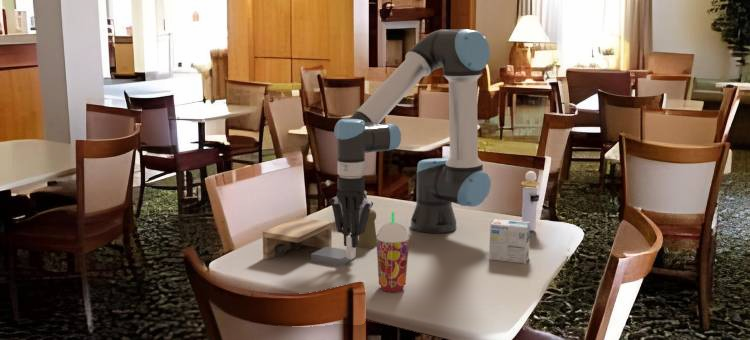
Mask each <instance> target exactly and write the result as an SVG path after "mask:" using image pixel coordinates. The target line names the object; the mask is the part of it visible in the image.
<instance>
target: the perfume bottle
mask: <svg viewBox="0 0 750 340" xmlns="http://www.w3.org/2000/svg"><path fill="white" fill-rule="evenodd" d="M524 175H525V180H523V181H521V185H522V186H524V187H523V189H522V204H521V205H522V206H521V208H522V209H521V210H522V211H521V221H523V222H530V232H531V231H535V230H536V226H537V224H536V223H537V204H538V202H539V201H540V194H538V188H536V187H539V186H540V185H541V183H540V182H539V181H536V180H537V173H536V172H535V171H534V170H533V171H532V170H529V171H527V172H526V173H525V174H524Z"/></svg>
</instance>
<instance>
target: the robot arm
mask: <svg viewBox="0 0 750 340" xmlns="http://www.w3.org/2000/svg"><path fill="white" fill-rule="evenodd" d="M404 57H405V58H404V61H403V62H402V63H401V64H400V65H399V66H398V67H397V68H395V70H394V71H393V72H392V73H391V74H390V75H389V77H387V78H386V79H385V81H383V83H382V84H381V85H380V86H379V87H378V88H377V89H376V90H375V91H374V92H373V93H372V94H371V96H369V97H368V99H366V100H365V102H363V104H361V106H359V108H358V109H357V110H356V111H355V112H354V113H353V114H352V115H351V116H350V117H345V118H341V119H339V120H338V121H337V122H336V124H335V126H334V130H333V131H334V132H333V133H334V136H335V138H336V139H337V140H336V146H337V152H336V153H337V175H338V176H337V181H336V184H337V187H336V188H337V192H336V196H334V197H331V198H329V201H328V202H329V204H330V205H331V208H332V211H333V216H334V221H335V225H336V230H337V232H338V233H340V234H342V235H343V246H344V247H345V250H346V259H353V258H354V257H356V249H357V248H358V247H359V246H358V239H359V235H361V234H363V233H364V232H365V228H366V224H367V220H368V216H369V211H370V209H371V210H372V207H373V206H374V202H373V201H369V200H368V198H367V199H366V196H365V194H364V191H365V176H364V175H365V172H366V171H365V170H366V169H365V168H366V167H365V166H366V163H365V160H366V158H365V157H366V154H368V153H375V152H385V151H386V152H388V151H392V150H395V149H397V148H398V147H400V144H401V141H402V133H401V130H400V128H399V127H398V126H397V124H395V123H387V122H385V123H382V121H383V120H384V119H385V118H386V117H387V115H388V114H389V113H390V112H392V110H393V109H394V108H395V107H396V106H397V105H398V104H399V103H400V102H401V101H402V100H403V98H405V96H406V95H407V94H408V93H410V91H411V90H412V89H413V88H414V87H415V86H416V84H417V83H419V82H420V81H421V79H422V78H423V77H428V76H429V75H431V73H433V72H434V70H437V69H440V68H442V69H443V72H442V73H443V77H444V78H445V79H446V80H447V81H448V113H449V116H448V117H449V119H448V122H449V157H444V158H443V157H442V158H441V157H439V158H437V157H436V158H427V159H422V160H419V161H418V162H417V167H416V169H417V170H416V202H415V203H416V204H415V207H414V211H413V213H412V215H411V216H412V217H411V219H410V228H411V229H413V231H417V232H420V233H427V234H428V233H429V234H445V233H450V232H453V231H456V229H457V217H456V215H455V212H454V208H453V204H457V205H460V206H461V207H468V208H469V207H470V208H475V207H478V206H480V205H481V204H483V203H484V202H485V200H486V198H487V197H488V196H489V194H490V191H491V187H492V182H491V181H492V179H491V177H490V175H489V174H488V173H487V172H486V171H485V170H484V168H483V167H484V164H483V161H482V160H481V159H480V157H479V153H478V152H479V150H478V149H479V146H478V144H479V142H478V141H479V140H478V138H479V136H478V134H479V133H478V130H479V129H478V127H479V126H478V79H479V78H481V76H483V69H484V68H485V67H486V66H487V65H488V62H489V61H490V57H491V48H490V44H489V41H488V40H487V37H486V36H485V35H483V33H481V32H480V31H478V30H473V29H466V28H464V29H444V28H443V29H438V30H435V31H433V32H430V33H429V34H427V35H425V36H424V37H423V38H422V39H420V40H419V41H418V42H417V43H416V44H414V46H413V47H412V48H410V49H409V50H408V52H407V53H406V54H405V56H404ZM380 123H381V124H380ZM339 202H340V203H341V205H342V211H341V206H340V203H339ZM362 203H363V206H362V207H363V209H362V213H361V217H360V221H359V211H360V206H361V204H362ZM452 203H453V204H452ZM342 212H343V215H342ZM356 258H357V257H356Z"/></svg>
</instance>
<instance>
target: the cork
mask: <svg viewBox="0 0 750 340" xmlns="http://www.w3.org/2000/svg"><path fill="white" fill-rule="evenodd" d="M361 213H362V211H360V213H359V218H360V217H361ZM376 218H377V213H376V211H375V210H373V209H372V208H371V209H370V211H369V216H368V220H367V224H366V228H365V232H364V233H363V234H361V235H359V236H358V246H357V247H359V248H363V249H364V248H365V249H371V248H375V247H376V248H377V241H376V236H377V231H376V224H375V223H376V222H375V221H376Z"/></svg>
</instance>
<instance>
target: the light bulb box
mask: <svg viewBox="0 0 750 340" xmlns="http://www.w3.org/2000/svg"><path fill="white" fill-rule="evenodd" d="M489 227H490V228H489V255H488V256H489V258H488V260H490V261H491V260H492V261H500V262H510V263H519V264H526V263H527V261H528V260H529V256H530V238H531V237H530V236H531V235H530V234H531V233H530V232H531V231H530V222H523V221H522V220H509V219H508V220H507V219H497V218H494V219H493V221H492V222H491V223H490V226H489Z"/></svg>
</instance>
